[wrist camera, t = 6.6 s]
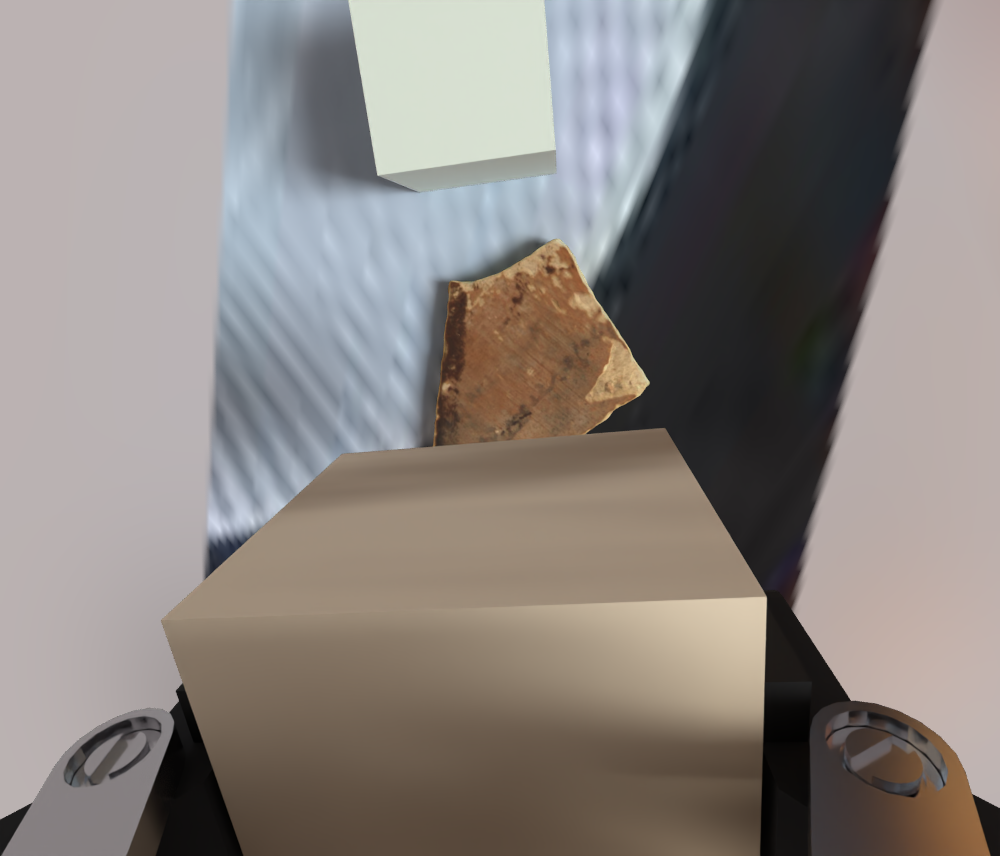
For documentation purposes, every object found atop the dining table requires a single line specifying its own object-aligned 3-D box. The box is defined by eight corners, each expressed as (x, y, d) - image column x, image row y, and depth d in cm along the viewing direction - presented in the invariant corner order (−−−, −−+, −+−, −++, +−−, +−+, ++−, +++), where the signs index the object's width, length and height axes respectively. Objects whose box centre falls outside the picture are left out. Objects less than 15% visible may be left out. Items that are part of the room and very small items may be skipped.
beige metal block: (341, 453, 10) (160, 620, 6) (665, 428, 10) (766, 596, 5) (396, 706, 12) (291, 993, 7) (674, 702, 11) (755, 1022, 7)
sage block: (397, 34, 19) (342, -38, 14) (543, 8, 18) (538, -78, 13) (420, 192, 20) (377, 175, 15) (556, 173, 19) (555, 149, 15)
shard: (435, 511, 24) (425, 530, 23) (329, 370, 23) (311, 379, 21) (651, 383, 22) (658, 394, 20) (547, 214, 20) (546, 210, 19)
